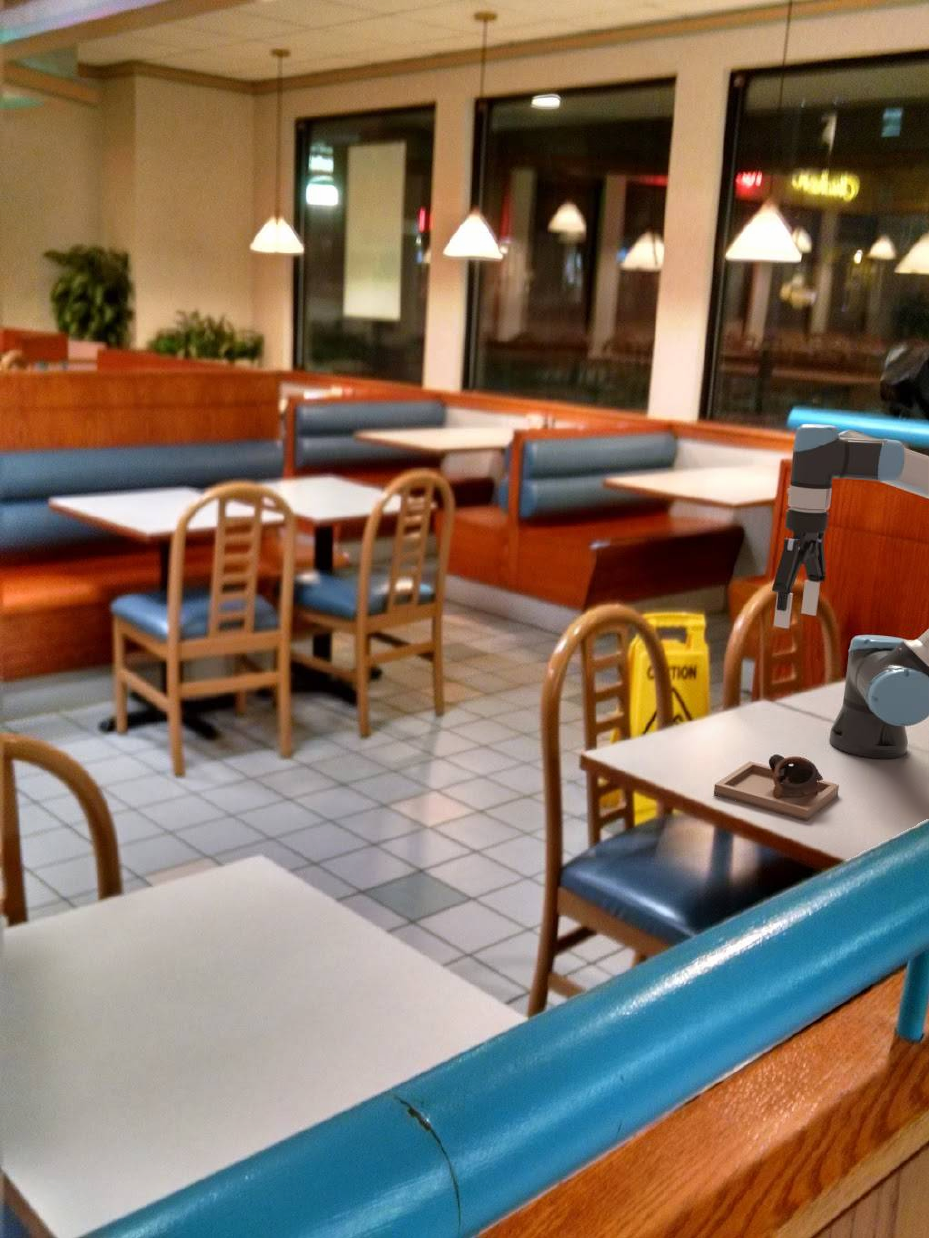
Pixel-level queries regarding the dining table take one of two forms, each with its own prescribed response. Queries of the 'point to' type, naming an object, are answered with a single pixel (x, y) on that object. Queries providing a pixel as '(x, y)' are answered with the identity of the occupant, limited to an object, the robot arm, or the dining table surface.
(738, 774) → the serving tray
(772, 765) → the pottery mug
